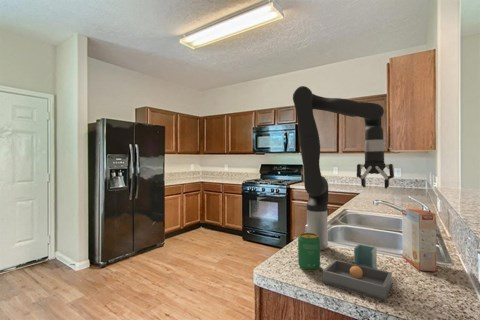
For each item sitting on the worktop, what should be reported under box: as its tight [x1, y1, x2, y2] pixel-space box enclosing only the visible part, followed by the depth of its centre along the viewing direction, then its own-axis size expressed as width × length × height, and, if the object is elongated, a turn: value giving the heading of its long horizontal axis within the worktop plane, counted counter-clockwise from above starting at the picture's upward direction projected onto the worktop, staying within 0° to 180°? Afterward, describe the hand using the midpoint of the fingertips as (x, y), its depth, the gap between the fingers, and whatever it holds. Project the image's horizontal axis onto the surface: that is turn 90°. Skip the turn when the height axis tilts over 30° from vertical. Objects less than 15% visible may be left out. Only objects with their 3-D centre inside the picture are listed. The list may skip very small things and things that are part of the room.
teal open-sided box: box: [353, 244, 378, 269], centre depth 91 cm, size 6×6×8 cm
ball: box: [350, 266, 363, 279], centre depth 84 cm, size 4×4×4 cm
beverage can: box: [297, 232, 321, 272], centre depth 96 cm, size 8×8×12 cm
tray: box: [322, 259, 393, 302], centre depth 82 cm, size 18×12×4 cm, turn 51°
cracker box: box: [401, 206, 437, 273], centre depth 97 cm, size 14×6×21 cm, turn 168°
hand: (374, 187), depth 110 cm, fingers open, 8 cm apart
